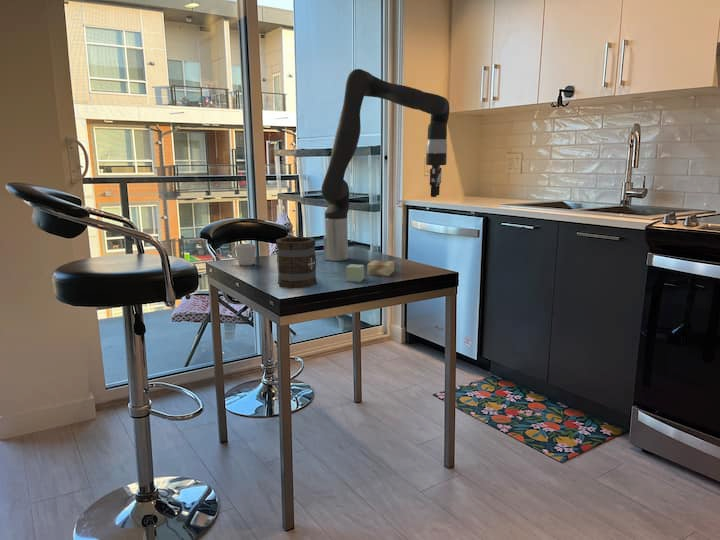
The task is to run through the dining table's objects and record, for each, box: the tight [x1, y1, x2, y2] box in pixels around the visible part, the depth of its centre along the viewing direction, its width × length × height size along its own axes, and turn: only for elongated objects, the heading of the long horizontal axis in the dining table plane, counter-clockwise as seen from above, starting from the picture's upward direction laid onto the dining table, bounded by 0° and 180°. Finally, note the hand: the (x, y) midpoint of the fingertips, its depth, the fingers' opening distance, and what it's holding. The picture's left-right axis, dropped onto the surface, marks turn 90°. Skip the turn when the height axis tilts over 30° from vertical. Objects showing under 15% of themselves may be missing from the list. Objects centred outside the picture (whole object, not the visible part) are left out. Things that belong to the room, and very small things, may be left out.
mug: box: [275, 236, 318, 289], centre depth 177 cm, size 20×14×15 cm
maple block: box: [366, 259, 395, 276], centre depth 190 cm, size 8×8×4 cm
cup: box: [230, 243, 257, 267], centre depth 207 cm, size 11×8×8 cm
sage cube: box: [345, 263, 365, 283], centre depth 180 cm, size 5×5×5 cm
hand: (435, 196), depth 196 cm, fingers open, 8 cm apart
